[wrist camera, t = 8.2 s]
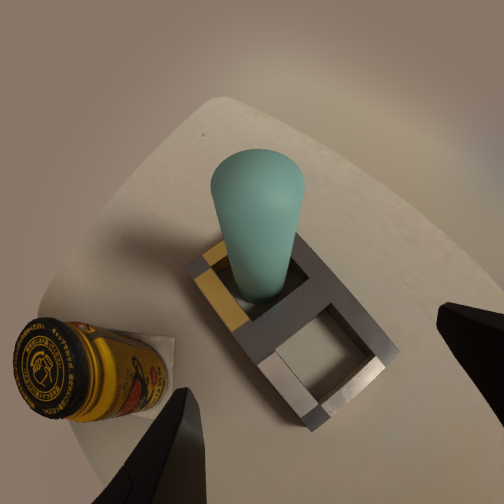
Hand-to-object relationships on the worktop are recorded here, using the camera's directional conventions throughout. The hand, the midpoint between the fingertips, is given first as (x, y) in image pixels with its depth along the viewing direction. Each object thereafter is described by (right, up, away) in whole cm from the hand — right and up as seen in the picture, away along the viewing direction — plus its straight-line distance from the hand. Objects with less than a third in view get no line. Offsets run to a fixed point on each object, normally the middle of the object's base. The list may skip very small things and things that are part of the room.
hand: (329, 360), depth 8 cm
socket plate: (+1, -2, +14) cm, 14 cm away
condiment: (-13, -7, +13) cm, 19 cm away
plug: (-2, +1, +15) cm, 16 cm away
